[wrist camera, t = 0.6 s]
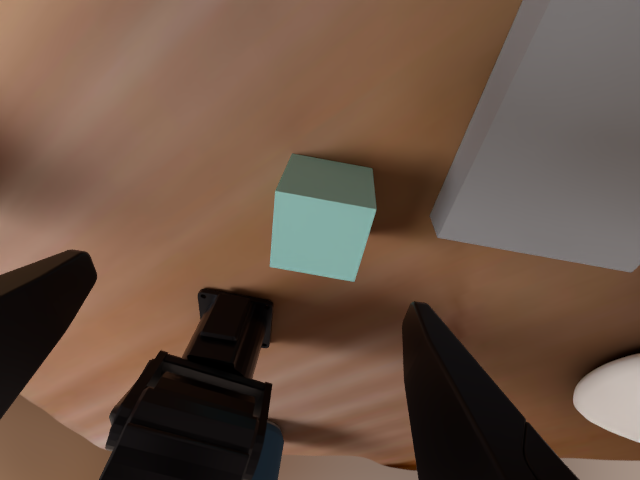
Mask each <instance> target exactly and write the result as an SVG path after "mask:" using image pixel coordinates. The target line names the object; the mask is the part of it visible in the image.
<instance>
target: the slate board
mask: <svg viewBox="0 0 640 480" xmlns="http://www.w3.org/2000/svg"><path fill="white" fill-rule="evenodd" d="M430 218H431V221H432V224H433V226H434V229H435V232H436V235H437V238H442V239H448V240H453V241H459V242H464V243H470V244H476V245H481V246H487V247H492V248H498V249H503V250H509V251H515V252H520V253H526V254H531V255H537V256H542V257H548V258H553V259H559V260H565V261H570V262H576V263H581V264H587V265H592V266H598V267H603V268H609V269H615V270H620V271H626V272H631V273H632V272H633V271H634V270H635V269H636V268H637V267H638V266H639V265H640V0H523V1H522V3H521V6H520V8H519V10H518V13H517V15H516V17H515V20H514V22H513V24H512V26H511V29H510V31H509V33H508V36H507V38H506V40H505V43H504V45H503V47H502V50H501V52H500V54H499V56H498V59H497V61H496V63H495V66H494V68H493V70H492V73H491V75H490V77H489V80H488V82H487V84H486V87H485V89H484V91H483V93H482V96H481V98H480V100H479V103H478V105H477V107H476V110H475V112H474V114H473V117H472V119H471V121H470V123H469V126H468V128H467V130H466V133H465V135H464V137H463V140H462V142H461V144H460V147H459V149H458V151H457V153H456V156H455V158H454V160H453V163H452V165H451V167H450V170H449V172H448V174H447V177H446V179H445V181H444V184H443V186H442V188H441V190H440V193H439V195H438V197H437V200H436V202H435V204H434V207H433V209H432V211H431V214H430Z"/></svg>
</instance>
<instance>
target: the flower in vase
mask: <svg viewBox="0 0 640 480" xmlns="http://www.w3.org/2000/svg"><path fill="white" fill-rule="evenodd" d="M573 403H574V406H575V408H576V409H577V410H578V411H579V412H580V413H581V414H582V415H583V416H584V417H585V418H586V419H587V420H589V421H590V422H592V423H594V424H596V425H598V426H600V427H602V428H604V429H606V430H608V431H610V432H613V433H615V434H618V435H620V436H623V437H626V438H628V439H631V440H634V441H636V442H639V443H640V353H639V354H634V355H630V356H626V357H623V358H620V359H617V360H614V361H611V362H609V363H607V364H604V365H602V366H600V367H598V368H596V369H595V370H593V371H591V372H590V373H588V374H587V375H586V376H584V377H583V378H582V379H581V380H580V381H579V383H578V384H577V386H576V387H575V390H574V396H573Z"/></svg>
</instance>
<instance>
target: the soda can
mask: <svg viewBox="0 0 640 480" xmlns="http://www.w3.org/2000/svg"><path fill="white" fill-rule="evenodd" d="M283 444H284V440H283V436H282V433H281V430H280V428H279V426H278V425H276V424H275V423H273V422H271V421H268V420H267V427H266V433H265V439H264V443H263V448H262V451H261V455H260V458H259V462H258V465H257V468H256V470H255V473H254V475H253V477H252V480H278V474H279V468H280V462H281V456H282V450H283Z"/></svg>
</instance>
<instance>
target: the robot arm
mask: <svg viewBox="0 0 640 480" xmlns="http://www.w3.org/2000/svg"><path fill="white" fill-rule="evenodd" d="M96 280H97V272H96V270H95V267H94V265H93V262H92V259H91V257H90V255H89V254H88V253H87V252H85V251H79V250H67V251H65V252H62V253H59V254H56V255H54V256H51V257H48V258H46V259H43V260H40V261H37V262H35V263H32V264H29V265H26V266H24V267H21V268H18V269H16V270H13V271H10V272H7V273H5V274H2V275H0V419H1V418H2V416H3V415H4V414H5V412H6V411H7V410H8V408H9V407H10V406H11V404H12V403H13V402H14V400H15V399H16V398H17V396H18V395H19V394H20V392H21V391H22V390H23V388H24V387H25V386H26V384H27V383H28V382H29V380H30V379H31V378H32V376H33V375H34V374H35V372H36V371H37V370H38V368H39V367H40V366H41V364H42V363H43V362H44V360H45V359H46V357H47V356H48V355H49V353H50V352H51V351H52V349H53V348H54V347H55V345H56V344H57V343H58V341H59V340H60V339H61V337H62V336H63V335H64V333H65V332H66V330H67V329H68V327H69V326H70V324H71V322H72V321H73V319H74V318H75V316H76V314H77V313H78V311H79V309H80V308H81V306H82V304H83V303H84V301H85V299H86V298H87V296H88V294H89V293H90V291H91V289H92V288H93V286H94V284H95V282H96ZM198 303H199V311H200V319H201V320H200V322H199V324H198V326H197V328H196V330H195V332H194V334H193V336H192V338H191V340H190V342H189V344H188V346H187V348H186V350H185V352H184V354H183V356H182V358H180V357H177V356H174V355H170V354H168V352H165V351H162V350H161V351H160V352H159V353H158V355H157V356H156V358H155V359H152V360H149V362H148V364H147V365H146V367H145V369H144V370H143V372H142V374H141V375H140V377H139V379H138V380H137V381H136V383H135V384H134V385H133V386H132V387H131V389H130V390H129V391H128V392H127V393H126V394H125V395H124V397H123V398H122V399H121V400H120V401H119V402H118V403H117V405H116V406H115V407H114V408H113V410H112V411H111V413H110V416H109V419H110V422H111V425H112V426H111V429H110V432H109V436H108V439H107V442H106V447H105V449H106V450H109V451H112V454H111V456H110V458H109V460H108V462H107V464H106V466H105V468H104V470H103V472H102V474H101V476H100V479H99V480H252V477H253V475H254V473H255V470H256V468H257V465H258V462H259V458H260V455H261V451H262V448H263V443H264V439H265V433H266V427H267V419H268V412H269V404H270V397H271V390H272V384H271V383H268V382H265V383H263V382H260V381H257V380H253V379H252V378H253V374H254V371H255V367H256V363H257V360H258V356H259V353H260V349H261V348H268V347H269V345H270V338H271V327H272V316H273V302H271V301H269V300H265V299H259V298H253V297H248V296H242V295H236V294H230V293H225V292H219V291H213V290H208V289H201V290H200V291H199V293H198ZM266 305H267V306H266ZM402 338H403V367H404V383H405V391H406V398H407V405H408V412H409V418H410V425H411V432H412V438H413V445H414V452H415V458H416V465H417V472H418V478H419V480H579V479H578V478H577V477H576V475H575V474H574V473H573V472H572V471H571V470H570V469H569V468H568V467H567V466H566V465H565V464H564V462H563V461H562V460H561V459H560V458H559V457H558V456H557V455H556V453H555V452H554V451H553V450H552V449H551V448H550V447H549V445H548V444H547V443H546V442H545V441H544V440H543V439H542V437H541V436H540V435H539V434H538V433H537V432H536V430H535V429H534V428H533V427H532V426H531V424H530V423H529V422H526V419H525V418H524V416H523V415H522V414H521V413H520V412H519V411H518V409H517V408H516V407H515V406H514V405H513V403H512V402H511V401H510V400H509V399H508V398H507V396H506V395H505V394H504V393H503V392H502V391H501V389H500V388H499V387H498V386H497V385H496V383H495V382H494V381H493V380H492V379H491V378H490V376H489V375H488V374H487V373H486V372H485V371H484V369H483V368H482V367H481V366H480V365H479V363H478V362H477V361H476V360H475V359H474V358H473V356H472V355H471V354H470V353H469V352H468V351H467V349H466V348H465V347H464V346H463V345H462V343H461V342H460V341H459V340H458V339H457V338H456V336H455V335H454V334H453V333H452V332H451V331H450V329H449V328H448V327H447V326H446V325H445V323H444V322H443V321H442V320H441V319H440V318H439V316H438V315H437V314H436V313H435V312H434V311H433V309H432V308H431V307H430V306H429V305H428V304H426V303H422V302H415V301H414V302H412V303H411V304H410V306H409V308H408V311H407V313H406V316H405V318H404V320H403V325H402Z"/></svg>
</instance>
